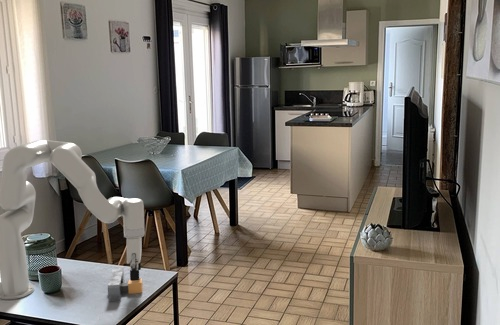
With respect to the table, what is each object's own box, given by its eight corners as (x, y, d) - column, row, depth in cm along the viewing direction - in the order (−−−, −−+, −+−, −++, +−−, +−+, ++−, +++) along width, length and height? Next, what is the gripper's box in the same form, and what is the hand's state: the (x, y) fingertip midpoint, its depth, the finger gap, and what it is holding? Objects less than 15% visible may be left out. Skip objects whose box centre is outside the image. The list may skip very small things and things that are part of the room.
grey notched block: (109, 302, 182) (107, 285, 180) (114, 284, 197) (112, 268, 196) (120, 301, 182) (119, 284, 181) (124, 283, 198) (123, 267, 197)
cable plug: (108, 295, 187) (107, 285, 187) (109, 290, 191) (108, 281, 191) (142, 292, 189) (141, 282, 188) (142, 288, 193) (142, 278, 192)
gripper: (125, 225, 194) (127, 266, 198) (121, 239, 178) (123, 285, 181) (145, 224, 196) (146, 265, 199) (143, 238, 179) (144, 283, 182)
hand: (135, 274), depth 190 cm, fingers open, 9 cm apart
